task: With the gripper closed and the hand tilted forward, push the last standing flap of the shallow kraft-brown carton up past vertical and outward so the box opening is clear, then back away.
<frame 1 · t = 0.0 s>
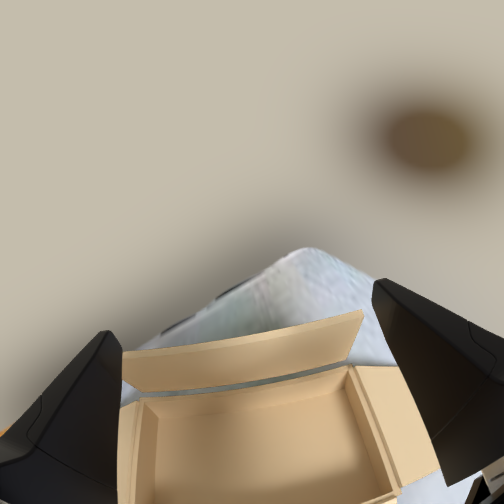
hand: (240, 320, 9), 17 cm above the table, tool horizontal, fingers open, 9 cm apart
flap: (231, 365, 18), point 7 cm above the table, hinge at -15.0°
carton: (257, 466, 17), on the table
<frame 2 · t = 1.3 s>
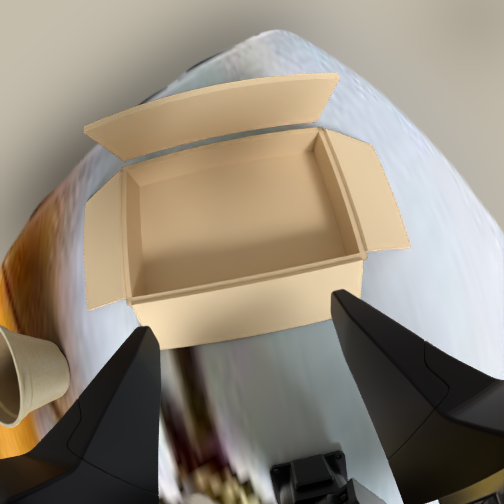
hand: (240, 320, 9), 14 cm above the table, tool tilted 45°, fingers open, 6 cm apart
flap: (212, 115, 18), point 7 cm above the table, hinge at -15.0°
carton: (235, 221, 24), on the table
flower pot: (51, 368, 21), on the table
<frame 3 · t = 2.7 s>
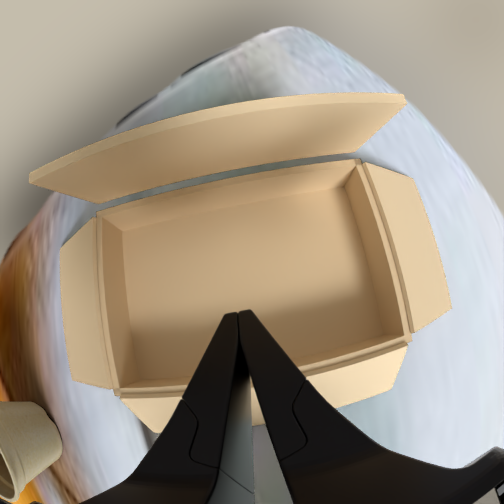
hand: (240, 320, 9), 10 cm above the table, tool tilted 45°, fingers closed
flap: (215, 147, 13), point 7 cm above the table, hinge at -15.0°
carton: (245, 283, 18), on the table
flower pot: (41, 429, 16), on the table
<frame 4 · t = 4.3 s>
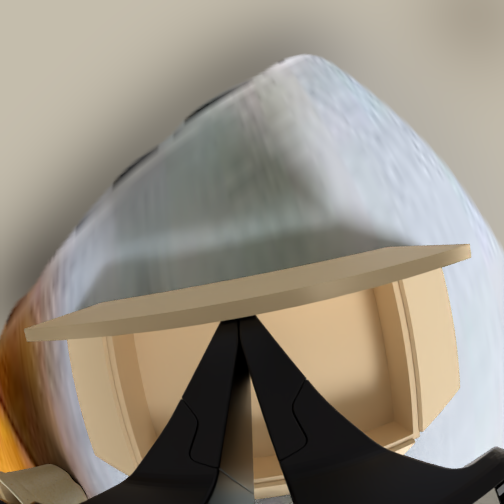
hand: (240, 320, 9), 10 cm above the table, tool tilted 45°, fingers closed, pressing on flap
flap: (240, 291, 11), point 7 cm above the table, hinge at -15.0°, touching gripper
carton: (265, 384, 17), on the table
flower pot: (65, 486, 14), on the table
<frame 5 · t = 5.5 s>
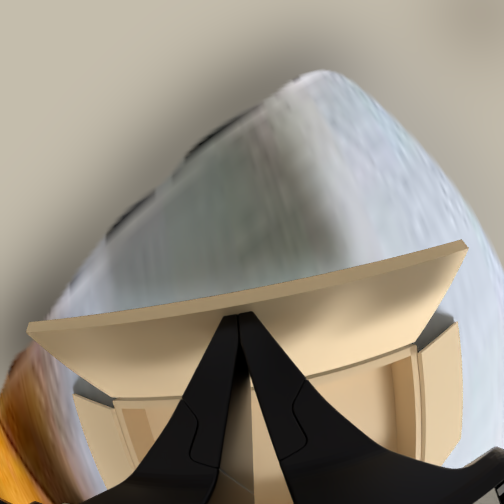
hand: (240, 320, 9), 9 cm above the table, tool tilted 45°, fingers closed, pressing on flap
flap: (251, 351, 10), point 7 cm above the table, hinge at 34.0°, touching gripper
carton: (279, 450, 15), on the table
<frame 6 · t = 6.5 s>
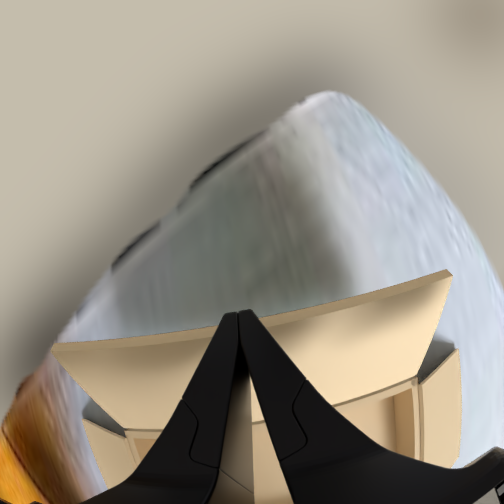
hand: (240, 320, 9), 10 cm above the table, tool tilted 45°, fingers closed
flap: (259, 381, 11), point 6 cm above the table, hinge at 46.1°
carton: (284, 472, 15), on the table
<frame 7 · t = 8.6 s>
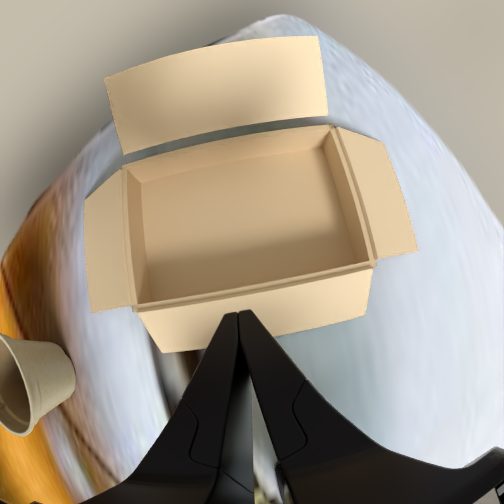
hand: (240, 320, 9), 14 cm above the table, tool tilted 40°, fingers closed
flap: (216, 87, 18), point 6 cm above the table, hinge at 46.4°
carton: (241, 221, 23), on the table
flower pot: (56, 369, 21), on the table
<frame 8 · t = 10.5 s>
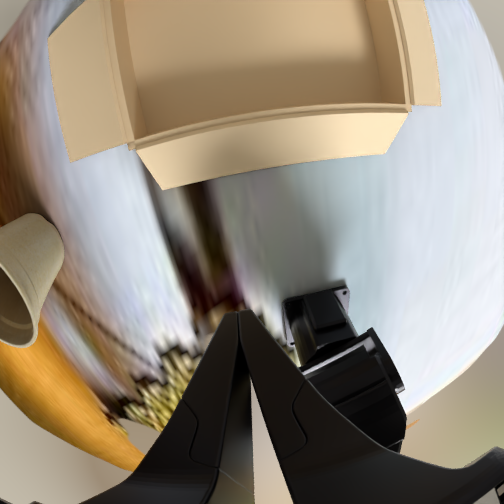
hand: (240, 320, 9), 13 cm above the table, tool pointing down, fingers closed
carton: (258, 35, 14), on the table
flower pot: (39, 241, 20), on the table
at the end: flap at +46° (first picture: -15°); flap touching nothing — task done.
